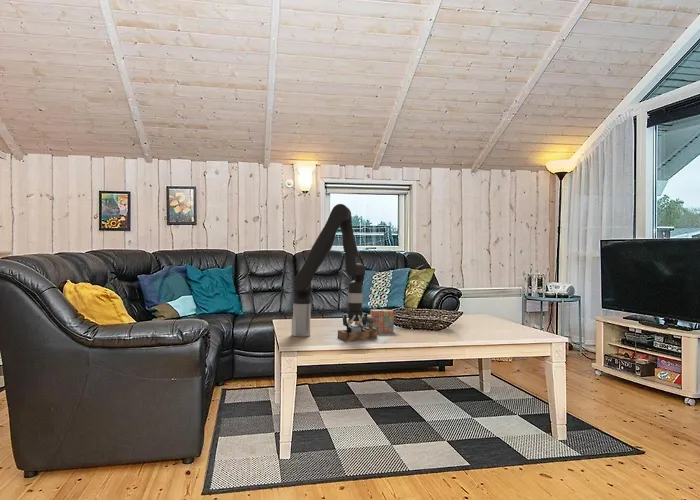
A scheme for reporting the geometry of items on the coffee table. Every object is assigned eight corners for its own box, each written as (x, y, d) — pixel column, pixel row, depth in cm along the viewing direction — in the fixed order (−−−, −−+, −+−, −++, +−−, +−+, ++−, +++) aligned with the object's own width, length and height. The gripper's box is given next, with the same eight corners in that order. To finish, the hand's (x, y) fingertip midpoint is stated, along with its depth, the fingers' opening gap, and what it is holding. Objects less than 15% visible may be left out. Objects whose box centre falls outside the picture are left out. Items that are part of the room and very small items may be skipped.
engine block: (352, 339, 257) (352, 326, 257) (348, 338, 262) (348, 325, 261) (361, 339, 259) (361, 326, 259) (356, 337, 264) (356, 324, 264)
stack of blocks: (356, 332, 279) (357, 310, 279) (354, 331, 285) (355, 309, 285) (393, 332, 283) (394, 310, 283) (390, 330, 290) (391, 309, 290)
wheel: (369, 322, 262) (369, 317, 262) (364, 321, 266) (365, 316, 266) (376, 322, 264) (376, 317, 264) (372, 321, 268) (372, 316, 268)
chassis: (346, 341, 252) (347, 325, 252) (337, 337, 262) (338, 322, 262) (379, 338, 262) (379, 323, 262) (369, 335, 271) (370, 320, 271)
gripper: (346, 302, 254) (345, 335, 254) (370, 301, 260) (370, 334, 260) (339, 301, 260) (339, 333, 260) (363, 300, 267) (363, 331, 267)
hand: (354, 333), depth 260 cm, fingers open, 6 cm apart
